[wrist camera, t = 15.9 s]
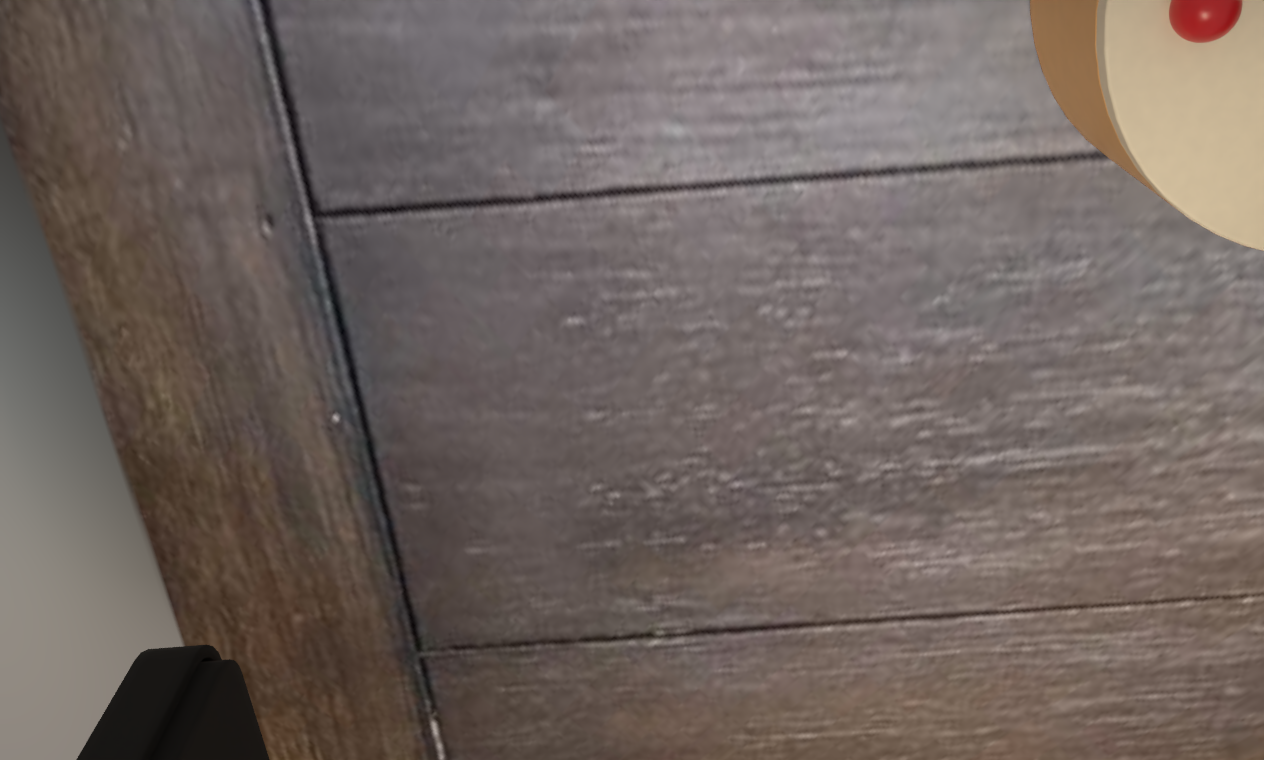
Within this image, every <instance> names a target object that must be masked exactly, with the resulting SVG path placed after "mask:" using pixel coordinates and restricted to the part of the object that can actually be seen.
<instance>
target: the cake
mask: <svg viewBox="0 0 1264 760" xmlns="http://www.w3.org/2000/svg"><path fill="white" fill-rule="evenodd" d="M1030 15H1031V22H1032V29H1033V36H1034V43H1035V47H1036V51H1037V54H1038V58H1039V61H1040V65H1041V68H1042V72H1043V74H1044V76H1045V78H1046V80H1047V83H1048V85H1049V87H1050V89H1051V92H1052V94H1053V96H1054V98H1055V99H1056V101H1057V102H1058V104H1059V106H1060V107H1061V109H1062V110H1063V112H1064V113H1065V115H1066V116H1067V118H1068V119H1069V121H1070V122H1071V123H1072V124H1073V125H1074V126H1075V127H1076V129H1077V130H1078V131H1079V132H1080V133H1081V134H1082V135H1083V136H1084V138H1085V139H1086V140H1088V141H1089V142H1090V143H1091V144H1092V145H1094V146H1095V147H1096V148H1097V149H1098V150H1100V151H1101V152H1102V153H1103V154H1104V155H1106V156H1107V157H1108V158H1110V159H1111V160H1112V161H1114V162H1115V163H1116V164H1117V165H1119V166H1120V167H1121V168H1123V169H1124V170H1125V171H1127V172H1128V173H1129V174H1131V175H1132V176H1133V177H1135V178H1136V179H1137V180H1139V181H1140V182H1141V183H1143V184H1144V185H1145V186H1147V187H1148V188H1149V189H1151V190H1152V191H1153V192H1155V193H1156V194H1157V195H1158V196H1160V197H1161V198H1162V199H1164V200H1165V201H1166V202H1168V203H1169V204H1170V205H1172V206H1173V207H1174V208H1176V209H1177V210H1178V211H1180V212H1181V213H1182V214H1184V215H1185V216H1186V217H1188V218H1189V219H1191V220H1192V221H1194V222H1196V223H1197V224H1199V225H1201V226H1202V227H1204V228H1206V229H1207V230H1209V231H1211V232H1212V233H1214V234H1216V235H1219V236H1221V237H1223V238H1226V239H1228V240H1231V241H1233V242H1236V243H1238V244H1241V245H1243V246H1246V247H1250V248H1254V249H1258V250H1262V251H1264V0H1030Z"/></svg>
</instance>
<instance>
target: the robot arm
mask: <svg viewBox="0 0 1264 760" xmlns="http://www.w3.org/2000/svg"><path fill="white" fill-rule="evenodd" d="M77 760H269V757H268V754H267V751H266V748H265V744H264V741H263V738H262V735H261V732H260V729H259V725H258V722H257V719H256V716H255V713H254V709H253V706H252V703H251V700H250V697H249V694H248V690H247V687H246V684H245V681H244V678H243V675H242V672H241V669H240V667H239V665H238V664H237V663H236V662H235V661H234V660H222V659H221V657H220V655H219V653H218V651H217V650H216V649H215V648H214V647H213V646H210V645H198V646H185V647H173V648H159V649H148V650H146V651H144V652H142V653H140V655H139V656H138V657H137V658H136V660H135V661H134V663H133V664H132V666H131V668H130V669H129V671H128V673H127V674H126V676H125V678H124V680H123V681H122V683H121V685H120V686H119V688H118V690H117V692H116V693H115V695H114V697H113V698H112V700H111V702H110V704H109V705H108V707H107V709H106V710H105V712H104V714H103V715H102V717H101V719H100V721H99V722H98V724H97V726H96V727H95V729H94V731H93V732H92V734H91V736H90V738H89V739H88V741H87V743H86V745H85V746H84V748H83V750H82V751H81V753H80V755H79V756H78V758H77Z"/></svg>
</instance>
